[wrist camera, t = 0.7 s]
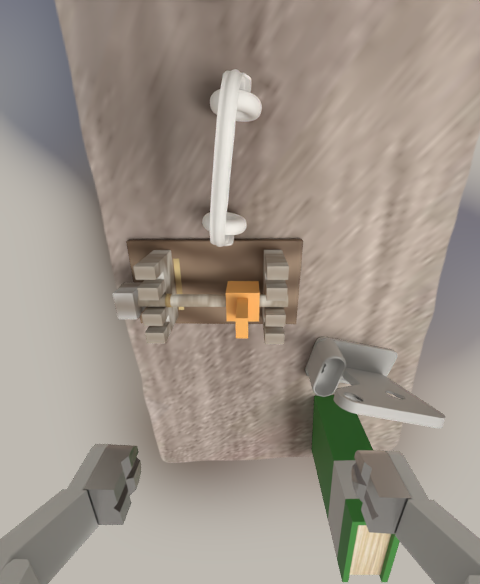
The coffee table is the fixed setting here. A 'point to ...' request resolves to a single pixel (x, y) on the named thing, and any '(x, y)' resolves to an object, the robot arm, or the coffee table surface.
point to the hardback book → (347, 492)
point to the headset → (228, 152)
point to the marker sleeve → (242, 304)
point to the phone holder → (365, 382)
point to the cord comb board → (209, 283)
